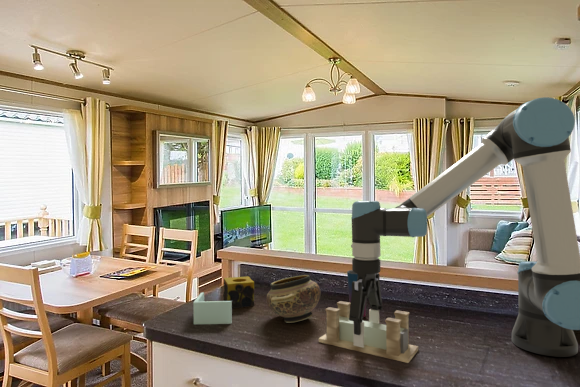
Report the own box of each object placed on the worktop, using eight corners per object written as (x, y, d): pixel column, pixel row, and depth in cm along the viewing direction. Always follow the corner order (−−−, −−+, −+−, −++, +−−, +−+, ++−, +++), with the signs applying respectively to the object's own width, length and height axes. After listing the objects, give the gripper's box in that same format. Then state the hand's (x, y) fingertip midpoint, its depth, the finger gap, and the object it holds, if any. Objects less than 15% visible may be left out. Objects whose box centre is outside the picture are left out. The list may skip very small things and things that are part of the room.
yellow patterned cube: (223, 304, 145) (222, 277, 145) (249, 301, 148) (249, 275, 148) (226, 312, 135) (226, 283, 135) (254, 309, 138) (254, 281, 138)
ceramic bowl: (303, 338, 110) (302, 286, 110) (250, 329, 118) (250, 280, 118) (332, 313, 132) (331, 270, 132) (286, 307, 140) (285, 266, 140)
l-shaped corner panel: (231, 325, 122) (231, 301, 122) (193, 325, 122) (193, 302, 122) (235, 313, 134) (235, 291, 134) (201, 313, 134) (201, 292, 134)
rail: (408, 348, 100) (407, 329, 100) (403, 353, 97) (403, 333, 97) (332, 331, 112) (332, 314, 112) (326, 336, 109) (326, 318, 109)
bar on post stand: (418, 350, 101) (418, 313, 101) (408, 363, 94) (407, 323, 93) (333, 331, 115) (333, 299, 115) (318, 342, 107) (318, 307, 107)
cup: (368, 320, 125) (367, 274, 125) (347, 319, 126) (346, 273, 126) (368, 313, 131) (367, 270, 131) (348, 312, 133) (347, 269, 133)
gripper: (369, 250, 116) (369, 324, 116) (334, 263, 97) (335, 350, 97) (393, 252, 112) (394, 329, 112) (362, 266, 93) (363, 357, 93)
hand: (366, 339), depth 104 cm, fingers open, 10 cm apart
